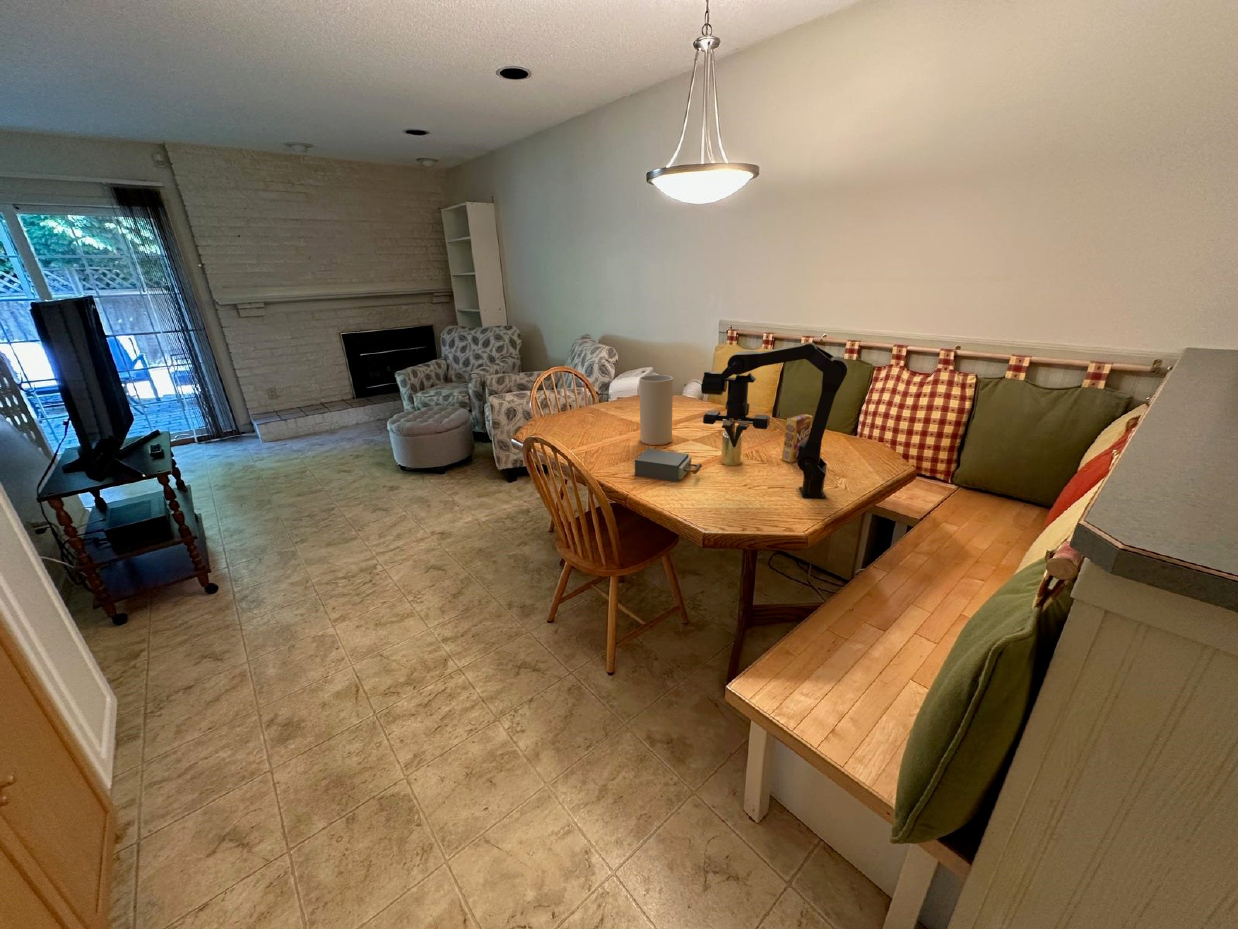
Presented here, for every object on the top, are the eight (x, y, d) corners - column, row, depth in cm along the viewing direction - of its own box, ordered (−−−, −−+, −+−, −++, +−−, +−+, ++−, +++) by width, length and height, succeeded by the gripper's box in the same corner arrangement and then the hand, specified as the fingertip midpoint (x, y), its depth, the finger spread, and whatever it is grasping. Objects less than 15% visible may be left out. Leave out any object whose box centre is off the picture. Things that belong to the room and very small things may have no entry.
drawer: (703, 469, 158) (703, 458, 156) (694, 481, 149) (694, 470, 147) (653, 462, 165) (653, 452, 163) (642, 473, 156) (641, 462, 155)
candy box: (791, 463, 163) (796, 420, 157) (781, 459, 166) (785, 417, 160) (808, 457, 167) (813, 415, 162) (797, 454, 171) (802, 413, 165)
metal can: (734, 466, 161) (736, 438, 158) (717, 462, 165) (718, 435, 162) (744, 461, 166) (746, 433, 162) (727, 457, 170) (728, 430, 166)
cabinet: (688, 469, 161) (688, 453, 159) (677, 482, 151) (677, 465, 149) (647, 463, 166) (647, 448, 164) (634, 475, 157) (634, 459, 155)
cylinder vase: (677, 438, 191) (678, 376, 182) (662, 447, 181) (662, 382, 172) (650, 434, 197) (650, 373, 188) (634, 442, 188) (633, 379, 179)
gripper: (774, 392, 142) (770, 441, 148) (712, 388, 150) (711, 435, 156) (768, 401, 133) (764, 453, 139) (703, 396, 140) (701, 446, 146)
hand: (734, 446), depth 145 cm, fingers closed
